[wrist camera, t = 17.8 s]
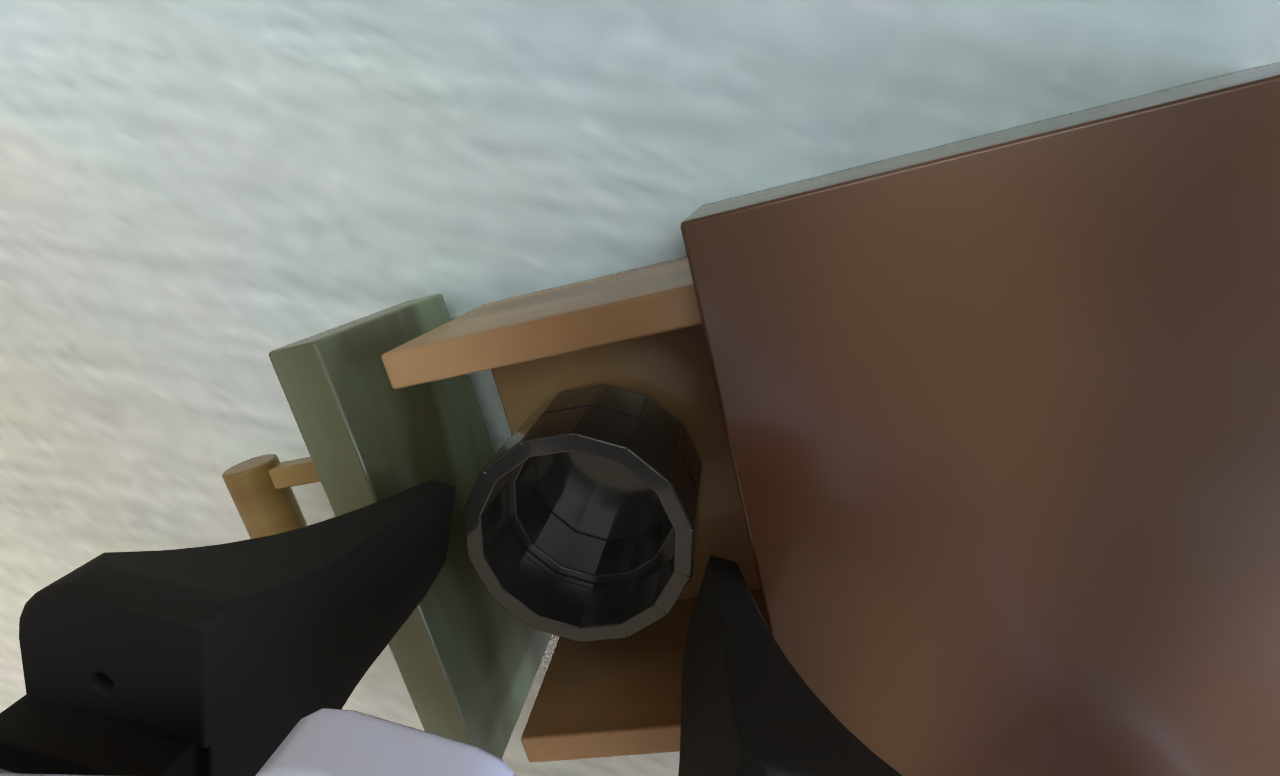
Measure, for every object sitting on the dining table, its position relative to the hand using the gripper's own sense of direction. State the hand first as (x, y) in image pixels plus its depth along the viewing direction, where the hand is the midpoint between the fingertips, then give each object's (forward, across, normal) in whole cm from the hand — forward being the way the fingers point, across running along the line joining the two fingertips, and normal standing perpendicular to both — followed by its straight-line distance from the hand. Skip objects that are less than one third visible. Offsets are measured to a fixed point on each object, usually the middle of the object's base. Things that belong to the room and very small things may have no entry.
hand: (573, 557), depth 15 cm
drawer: (+6, +1, +1) cm, 6 cm away
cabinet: (+6, -10, -5) cm, 13 cm away
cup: (+5, 0, 0) cm, 5 cm away
